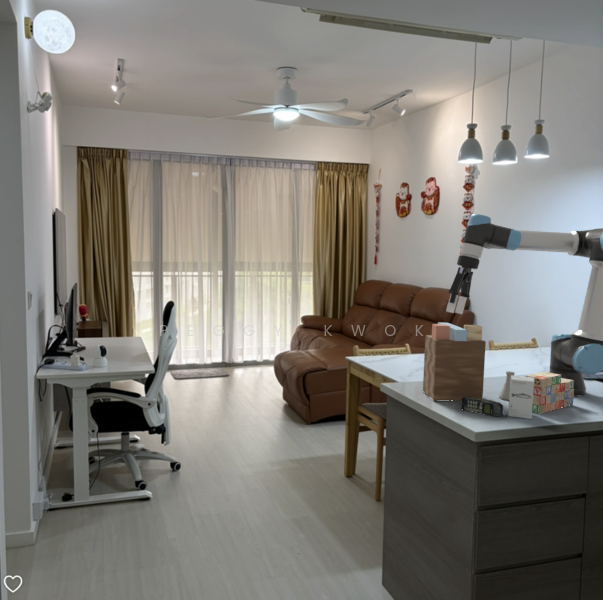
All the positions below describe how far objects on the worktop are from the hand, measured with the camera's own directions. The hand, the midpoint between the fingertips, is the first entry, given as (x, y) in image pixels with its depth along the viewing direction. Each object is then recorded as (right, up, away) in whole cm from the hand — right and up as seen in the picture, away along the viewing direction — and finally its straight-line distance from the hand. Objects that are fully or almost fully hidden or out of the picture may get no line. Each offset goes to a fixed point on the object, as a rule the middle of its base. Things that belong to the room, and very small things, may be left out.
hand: (454, 312), depth 207 cm
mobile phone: (+5, -34, -19) cm, 39 cm away
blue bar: (0, -9, +5) cm, 10 cm away
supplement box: (+16, -34, -20) cm, 43 cm away
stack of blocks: (+31, -33, -9) cm, 46 cm away
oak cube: (+6, -10, -1) cm, 12 cm away
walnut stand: (0, -31, +2) cm, 31 cm away
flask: (+21, -32, +2) cm, 38 cm away
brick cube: (-6, -9, -2) cm, 11 cm away
